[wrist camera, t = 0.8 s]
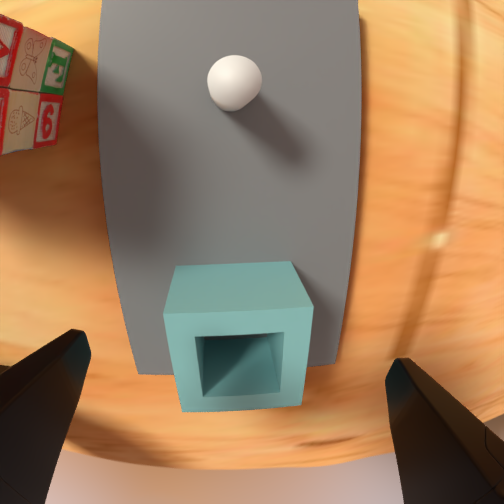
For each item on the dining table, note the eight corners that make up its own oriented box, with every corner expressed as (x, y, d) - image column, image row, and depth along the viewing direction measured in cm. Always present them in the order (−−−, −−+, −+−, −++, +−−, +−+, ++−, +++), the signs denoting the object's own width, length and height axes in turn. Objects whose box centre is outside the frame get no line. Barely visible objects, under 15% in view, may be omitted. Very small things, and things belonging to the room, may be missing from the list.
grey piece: (329, 351, 23) (355, 407, 18) (141, 360, 22) (127, 421, 17) (347, 4, 14) (394, -32, 9) (110, 5, 13) (71, -33, 8)
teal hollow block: (285, 350, 21) (301, 404, 16) (187, 355, 20) (182, 412, 16) (290, 261, 19) (313, 306, 14) (175, 265, 18) (163, 313, 13)
